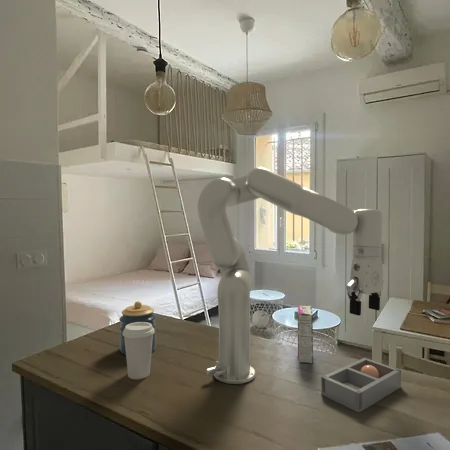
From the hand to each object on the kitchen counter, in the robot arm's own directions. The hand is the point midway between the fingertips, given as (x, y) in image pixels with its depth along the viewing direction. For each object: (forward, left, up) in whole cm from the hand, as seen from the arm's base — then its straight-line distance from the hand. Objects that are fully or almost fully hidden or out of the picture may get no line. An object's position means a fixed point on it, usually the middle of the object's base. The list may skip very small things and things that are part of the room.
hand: (364, 311), depth 100 cm
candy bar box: (+2, +23, -21) cm, 32 cm away
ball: (0, -2, -18) cm, 18 cm away
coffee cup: (-49, +45, -21) cm, 70 cm away
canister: (-41, +64, -21) cm, 79 cm away
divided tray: (-4, -2, -21) cm, 21 cm away
